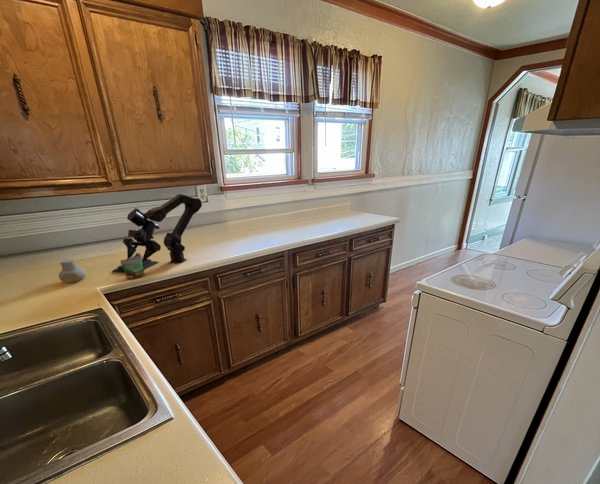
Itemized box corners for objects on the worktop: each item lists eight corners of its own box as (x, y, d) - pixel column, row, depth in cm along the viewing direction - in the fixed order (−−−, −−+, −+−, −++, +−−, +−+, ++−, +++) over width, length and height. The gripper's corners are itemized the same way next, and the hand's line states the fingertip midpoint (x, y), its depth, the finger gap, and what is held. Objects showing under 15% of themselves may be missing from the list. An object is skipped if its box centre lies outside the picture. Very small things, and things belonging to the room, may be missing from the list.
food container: (136, 281, 157) (131, 260, 152) (125, 280, 158) (119, 260, 153) (151, 272, 167) (147, 253, 162) (141, 271, 168) (136, 252, 164)
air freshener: (89, 276, 163) (82, 257, 158) (85, 282, 156) (78, 262, 151) (64, 279, 160) (56, 259, 155) (58, 285, 153) (51, 264, 148)
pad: (157, 262, 181) (156, 258, 180) (136, 273, 166) (134, 269, 165) (135, 261, 184) (134, 257, 183) (112, 271, 169) (111, 267, 168)
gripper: (120, 221, 159) (108, 249, 154) (151, 223, 153) (139, 252, 149) (136, 234, 169) (125, 260, 165) (166, 236, 163) (155, 264, 159)
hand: (135, 259), depth 159 cm, fingers open, 9 cm apart
